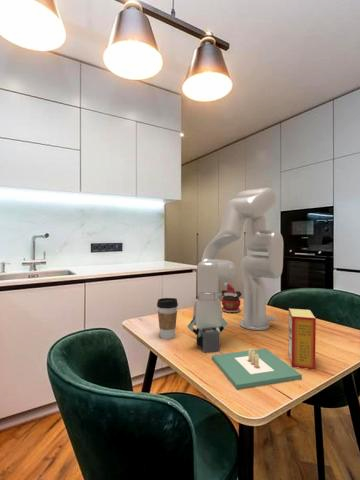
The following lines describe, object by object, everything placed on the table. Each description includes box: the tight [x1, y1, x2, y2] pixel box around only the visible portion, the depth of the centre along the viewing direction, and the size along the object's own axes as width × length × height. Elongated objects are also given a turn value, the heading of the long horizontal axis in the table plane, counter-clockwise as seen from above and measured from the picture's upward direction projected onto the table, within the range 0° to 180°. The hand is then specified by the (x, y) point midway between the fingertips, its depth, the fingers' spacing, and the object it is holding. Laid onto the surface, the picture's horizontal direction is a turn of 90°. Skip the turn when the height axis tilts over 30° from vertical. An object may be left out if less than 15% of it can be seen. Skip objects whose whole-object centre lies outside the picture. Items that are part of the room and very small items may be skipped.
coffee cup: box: [156, 297, 179, 340], centre depth 108 cm, size 8×8×15 cm
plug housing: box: [200, 328, 221, 354], centre depth 98 cm, size 6×8×7 cm, turn 15°
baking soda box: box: [288, 307, 317, 370], centre depth 86 cm, size 10×6×16 cm
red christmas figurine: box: [220, 279, 242, 313], centre depth 143 cm, size 11×9×18 cm
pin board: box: [211, 347, 303, 390], centre depth 82 cm, size 20×18×5 cm
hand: (207, 345), depth 98 cm, fingers closed on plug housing, 5 cm apart
